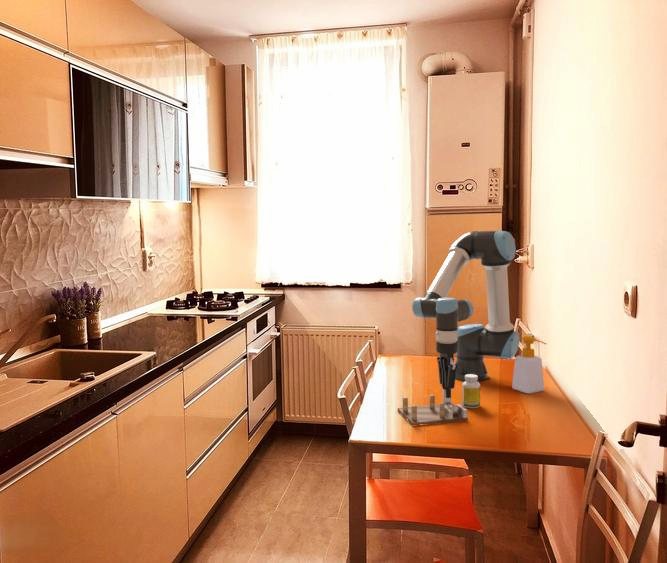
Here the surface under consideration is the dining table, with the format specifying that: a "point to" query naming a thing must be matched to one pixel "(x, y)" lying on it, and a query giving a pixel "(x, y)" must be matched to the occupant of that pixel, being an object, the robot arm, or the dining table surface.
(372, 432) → the dining table surface
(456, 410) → the pin
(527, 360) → the soap bottle
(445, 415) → the board
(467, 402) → the pill bottle
